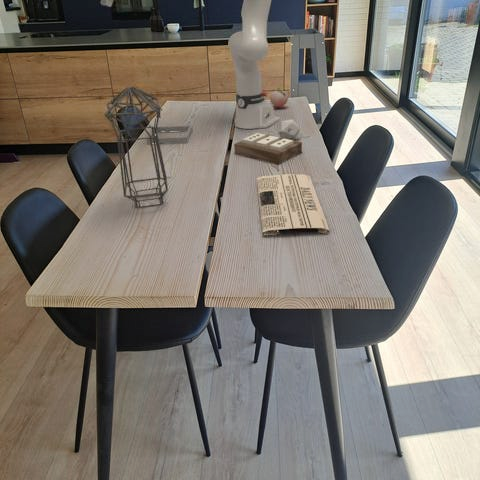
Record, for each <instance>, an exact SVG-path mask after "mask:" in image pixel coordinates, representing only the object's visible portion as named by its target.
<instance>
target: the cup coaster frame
mask: <svg viewBox="0 0 480 480" xmlns="http://www.w3.org/2000/svg"><path fill="white" fill-rule="evenodd" d="M155 128H156V126H155ZM193 129H194V128H193V125H167V126H157V131H158V132H161V131H165V132H167V133H171V132H170V131H187V132H185V135H184V136H167V137H158V139H159V143H175V144H188V143H189V141H188V140H190V138H191V136H192V134H193ZM153 130H154V129H153ZM149 134H150V135H151V136H153V135H152V131H151V132H150V133H149ZM154 136H155V132H154ZM146 138H149V135H148V136H147V137H146ZM146 143H150V139H146ZM152 143H154V142H153V138H152ZM155 143H156V141H155Z"/></svg>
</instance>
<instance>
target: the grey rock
mask: <svg viewBox="0 0 480 480" xmlns="http://www.w3.org/2000/svg"><path fill="white" fill-rule="evenodd" d="M300 130H301V127H300V126H299V125H298V123H296V121H295V120H294V119H292V118H291V119H286V120H281V121H280V124H279V126H278V130H277V131H276V133H277V134H278V135H279V136H280V138H282V139H289V140H293V141H296V140H297V136H298V135H299V132H300Z"/></svg>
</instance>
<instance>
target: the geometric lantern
mask: <svg viewBox="0 0 480 480" xmlns="http://www.w3.org/2000/svg"><path fill="white" fill-rule="evenodd" d="M133 96H134V97H135V98H136V100H137V101H138V103H135V101H134V98H133ZM125 97H126V99H125V100H126V101H125V102H122V101H123V100H124V98H125ZM155 101H156V102H155ZM159 101H160V99H159V98H157V97H155V96H153V95H151V94H150V93H147V92H146V91H143V90H141V89H139V88H136V87H135V86H132V85H130V86H127V87H125V88H124V89H122V91H121V92H119V93H118V94H117V95H115V96H114V98H113V99H112V98H111V100H110V101H109V102H107V103H106V106H107V110H106V112H105V113H104V117H106V119H107V120H109V122H110V123H111V126H112V128H113V130H114V133H115V136H116V139H117V141H116V142H117V148H118V157H119V165H120V174H121V181H122V191H123V196H124V198H127V199H129V200H131V201H134V202H135V208H139V209H143V208H148V207H154V206H155V207H157V206H161V205H163V204H164V199H163V197H164V196H165V194H167V192H168V191H169V189H168V177H167V173H166V169H165V164H164V159H163V158H164V157H163V155H162V149H161V144H159V139H158V138H159V135H158V134H159V133H158V131H157V127H159V126H158V125H159V119H161V111H164V110H163V108H162V107H161V105H159ZM143 103H145V104H146V105H144V107H143ZM110 105H111V106H110ZM121 105H124V106H125V107H123V106H121ZM128 106H131V109H130V110H129V108H128ZM136 106H140V111H137V110H136V109H137V108H136ZM148 107H150V108H151V109H152V110H148V111H144V110H146V108H148ZM117 108H119V109H122V110H124V112H121V113H114V112H115V110H116V109H117ZM143 111H144V112H143ZM155 113H156V116H155V117H156V118H154V126H151V124H150V123H149V122H148V120H147V119H148V118H149V117H150V116H152V115H154V114H155ZM146 114H147V115H146ZM144 115H146V116H144ZM116 116H123V117H124V118H125V120H126V122H125V121H124V120H121V119H120V118H118V117H116ZM127 116H128V117H127ZM132 116H135V117H136V118H135V119H136V121H137V122H132V123H130V120H131V117H132ZM138 116H140V117H142V118H141V119H140V120H139V117H138ZM114 120H116V121H118V122H120V123H122V124H124V125H125V127H124V129H121V130H120V128H119V127H118V125H117V124H116V123H115V121H114ZM144 121H145V122H146V124H148V126H144V125H143V124H142V123H143V122H144ZM135 125H139V126H140V127H135V128H128V127H131V126H135ZM155 127H156V128H155ZM147 129H151V132H152V135H153V136H151V135H150V133H149V131H148V130H147ZM153 129H154V130H153ZM117 130H118V132H117ZM132 130H144V132H145V133H146V134H147V135H148V136H149V138H147V137H140V138H130V139H128V136H127V135H128V134H127V131H132ZM154 132H155V134H156V136H154ZM123 135H124V137H125V139H123V138H122V137H123ZM152 138H153V142H154V144H152ZM147 139H150V144H149V145H150V148H151V152H152V156H153V157H152V158H153V164H154V168H155V174H156V177H152V178H151V177H150V178H145V179H144V178H143V179H142V178H141V179H135V180H134V179H133V174H132V165H131V156H130V150H129V141H140V140H147ZM155 141H156V144H155ZM123 142H125V145H126V146H125V147H126V154H127V159H126V155H125V150H124V149H125V148H124V143H123ZM126 160H128V165H127V161H126ZM158 160H159V161H158ZM159 163H160V164H159ZM159 165H160V166H159ZM127 166H128V167H129V168H128V167H127ZM160 168H161V171H160ZM128 169H129V170H128ZM160 172H161V173H162V177H161V173H160ZM153 180H154V181H155V180H157V186H156V187H152V188H147V189H141V190H140V189H139V190H137V188H136V186H135V184H134V183H138V182H140V183H141V182H145V181H146V182H147V181H153ZM161 180H162V181H163V183H162V184H161ZM131 184H132V186H133V187H132V188H131ZM163 186H165V187H164V188H165V190H164V191H163V190H162V187H163ZM127 188H128V192H129V195H127ZM133 189H134V190H133ZM152 190H156V192H155V193H148V194H140V195H138V193H140V192H147V191H152ZM152 196H159V197H155V198H145V199H139V200H138V199H137V198H143V197H152ZM153 200H159V203H156V204H148V205H143V206H141V203H140V202H144V201H153Z"/></svg>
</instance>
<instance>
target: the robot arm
mask: <svg viewBox="0 0 480 480" xmlns="http://www.w3.org/2000/svg"><path fill="white" fill-rule="evenodd" d="M114 1H115V0H100V4H101V5H102V6H105V7H106V6H107V7H110V8H111V7H112V5H113V3H114ZM271 3H272V0H243V3H242V6H241V7H242V8H241V14H240V15H241V19H242V21H241V22H242V27H241V28H242V29H241V30H240V31H237V32H234V33H233V34H232V35H231V36H230V37H229V39H228V42H227V43H228V44H227V47H228V49H229V52H230V54H231V59H232V64H233V68H234V72H235V73H234V74H235V80H236V81H235V82H236V85H235V86H236V93H235V100H236V103H237V104H236V105H235V118H234V120H233V121H234V126H235V127H236V128H239V129H243V130H244V129H246V130H249V129H250V130H252V129H266V128H269V127H270V126H272V125H273V124H275V123H276V122H278V121H279V120H280V117H279V116H277V115H275V108H274V107H273V105H272V104H270V103H269V102H268V101H266V99H265V97H266V98H267V97H268V95H269V93H268V91H263V90H262V88H263V87H262V73H261V70H260V68H259V65H258V62H261V61H263V60H264V59H265V58H266V57H267V56H268V53H269V43H268V39H267V31H268V29H267V28H268V18H269V13H270V8H271Z"/></svg>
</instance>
